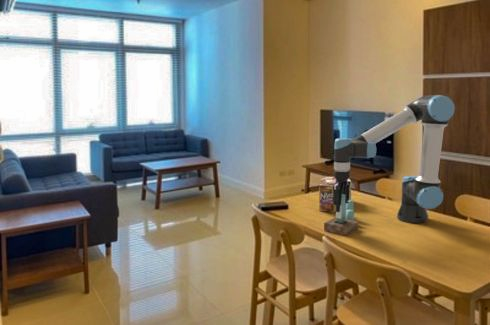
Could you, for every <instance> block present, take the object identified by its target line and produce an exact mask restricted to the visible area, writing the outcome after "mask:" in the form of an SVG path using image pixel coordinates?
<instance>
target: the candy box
mask: <svg viewBox="0 0 490 325" xmlns="http://www.w3.org/2000/svg"><path fill="white" fill-rule="evenodd" d="M318 188H319V189H318V192H319V193H318V211H320V212H328V213H336V205H333V185H328V184H325V183H320V184H319V185H318Z"/></svg>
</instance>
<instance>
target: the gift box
mask: <svg viewBox="0 0 490 325" xmlns="http://www.w3.org/2000/svg"><path fill="white" fill-rule="evenodd" d="M347 180H348V181H350V190H349V200H352V186H353V185H352V184H353V183H352V180H351V179H350V178H349V179H347ZM319 181H320V182H322V181H324V184H328V185H336V179H335V178H334V176H325V177H323V178H322V179H320V180H319Z"/></svg>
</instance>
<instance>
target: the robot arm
mask: <svg viewBox="0 0 490 325" xmlns="http://www.w3.org/2000/svg"><path fill="white" fill-rule="evenodd" d="M455 110H456V109H455V103H454V102H453V100H452V99H451V98H450V97H448V96H446V95H442V94H437V95H436V94H426V95H423V96H421V97H419V98H417V99H415V100H414V101H412V102H411V103H409V104H406V105H405V106H404V108H403V109H402V110H401V111H399V112H397V113H396V114H393V115H392V116H391V117H389V118H387V119H386V120H384V121H382V122H380V123H379V124H377V125H375V126H374V127H372V128H370V129H369V130H367V131H365V132H362V134H360V135H358V136H356V137H353V138H348V137H339V138H335V140H334V146H333V147H334V148H333V152H334V153H333V154H334V156H333V158H334V160H333V177H334V178H335V179H336V185H333V205H336V211H335V217H336V218H339V219H341V216H342V205H341V198H342V194H345V195H346V196H345V217H346V203H349V202H348V201H349V190H350V181H348V180H347V179H350V178H351V171H350V170H351V158H352V159H358V158H359V159H369V158H375V157H376V154H377V146H376V144H377V143H379V142H380V141H383V139H386V138H387V137H389V136H391V135H392V134H395V133H396V132H398V131H399V130H401V129H403V128H405V127H406V126H408V125H410V124H412V123H414V124H415V123H418V122H419V121H421V124H422V125H423V134H422V135H423V137H422V145H421V151H420V152H421V153H420V161H419V170H418V175H405V176H403V177H402V180H401V204H400V207H399V208H398V211H397V216H396V218H397V219H398V220H399V221H401V222H405V223H408V224H409V223H410V224H424V223H427V222H428V221H429V213H428V210H433V209H436V208H437V207H438V206H440V205H441V203H442V202H443V200H444V193H443V190H442V189H441V182H442V181H441V180H440V179H439V170H440V162H441V154H442V147H443V138H444V130H445V128H446V127H447V126H449V121H450V119H451V118H452V117H453V116H454V113H455Z"/></svg>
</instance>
